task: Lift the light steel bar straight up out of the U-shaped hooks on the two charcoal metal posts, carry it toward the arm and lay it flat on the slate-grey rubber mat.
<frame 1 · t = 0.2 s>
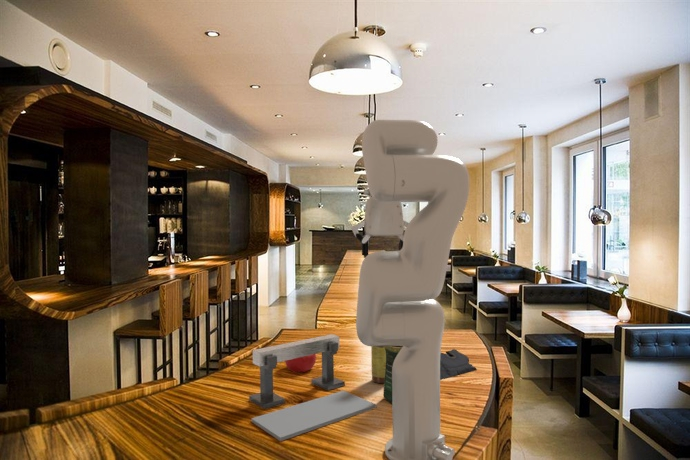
hand: (383, 257, 127), 37 cm above the table, tool pointing down, fingers open, 9 cm apart
hang bar: (298, 355, 129), point 10 cm above the table, touching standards
sauce bottle: (382, 381, 138), on the table
mat: (316, 414, 115), on the table
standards: (298, 392, 129), on the table
coffee jar: (402, 400, 124), on the table
dark grey notched piece: (439, 371, 148), on the table
pomegranate: (300, 369, 150), on the table
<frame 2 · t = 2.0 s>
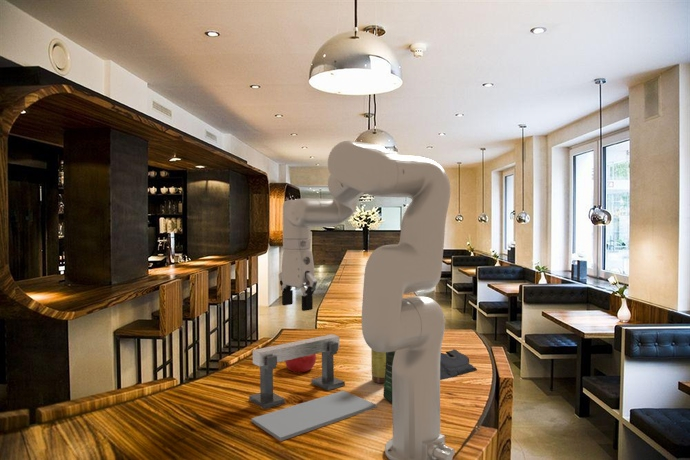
hand: (297, 307, 129), 23 cm above the table, tool pointing down, fingers open, 9 cm apart
nothing on the table moved.
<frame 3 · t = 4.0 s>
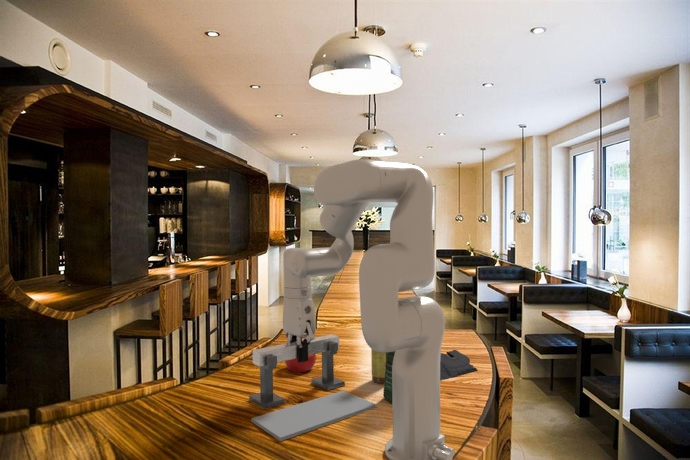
hand: (298, 359, 129), 9 cm above the table, tool pointing down, fingers closed on hang bar, 3 cm apart
hang bar: (298, 355, 129), point 10 cm above the table, touching gripper, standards
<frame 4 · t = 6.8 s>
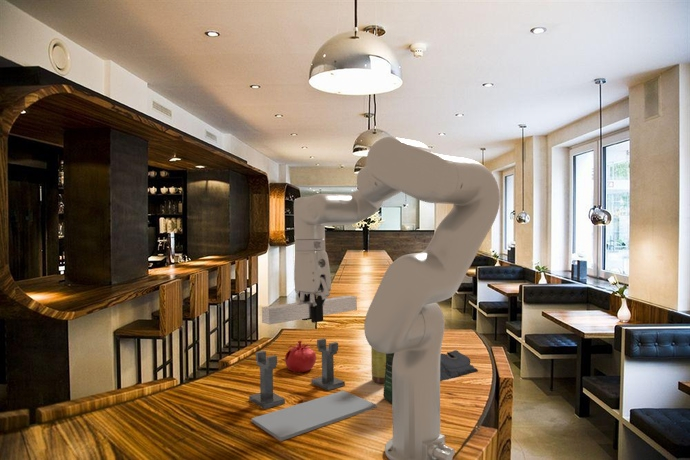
hand: (312, 319, 117), 23 cm above the table, tool pointing down, fingers closed on hang bar, 3 cm apart
hang bar: (312, 315, 117), point 24 cm above the table, touching gripper
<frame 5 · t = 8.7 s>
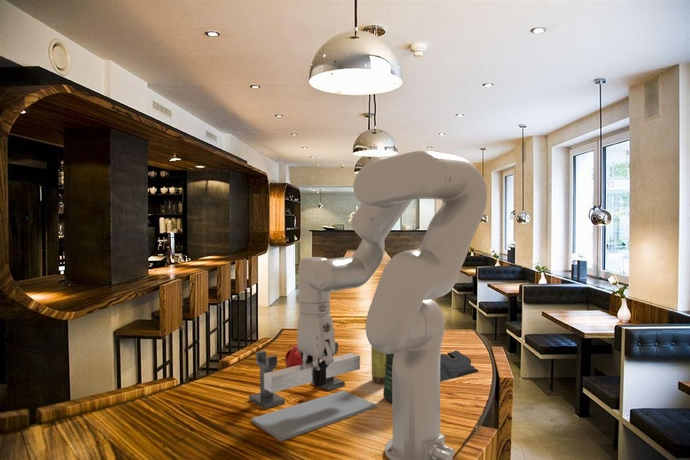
hand: (314, 382, 115), 8 cm above the table, tool pointing down, fingers closed on hang bar, 3 cm apart
hang bar: (314, 378, 115), point 9 cm above the table, touching gripper
when the fingers open (1 cm above the table, at t = 10.0 s): hang bar drops 2 cm, resting on mat.
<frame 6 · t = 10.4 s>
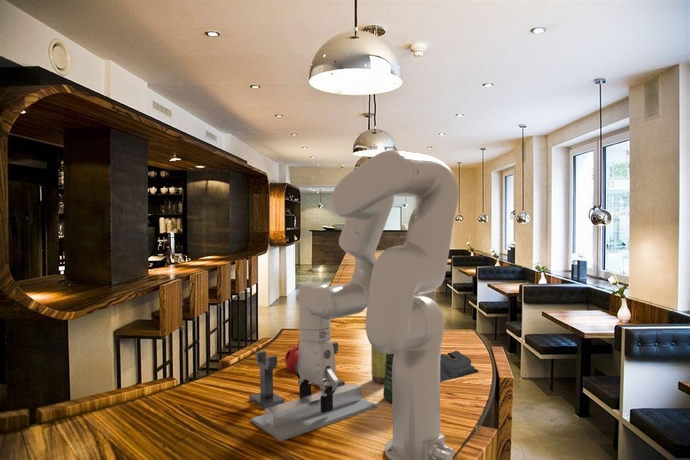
hand: (315, 405, 115), 2 cm above the table, tool pointing down, fingers open, 8 cm apart
hang bar: (316, 411, 115), point 1 cm above the table, touching mat
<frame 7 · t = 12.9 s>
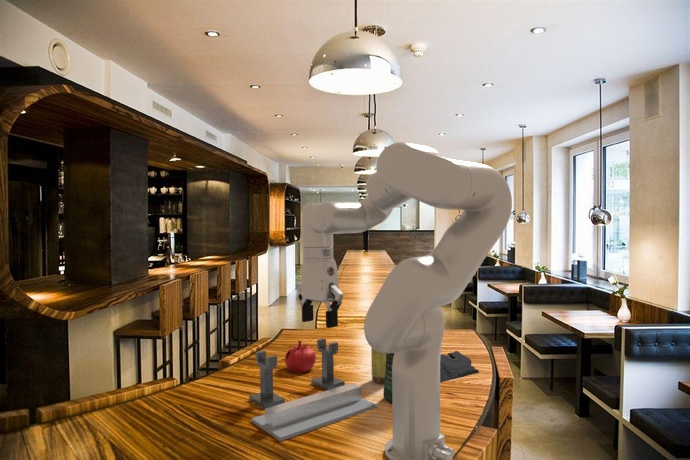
hand: (319, 324, 115), 22 cm above the table, tool pointing down, fingers open, 9 cm apart
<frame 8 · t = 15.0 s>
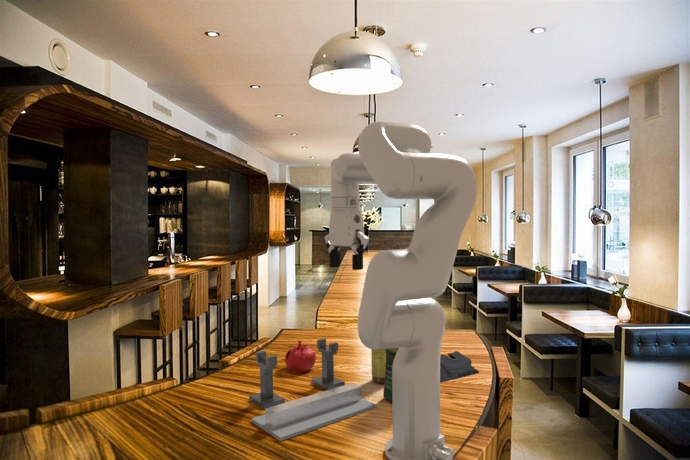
hand: (345, 268, 127), 34 cm above the table, tool pointing down, fingers open, 9 cm apart
at the end: hang bar inside the target area (0.0 cm from its centre), point 0.8 cm above the table; hang bar touching mat; the gripper is holding nothing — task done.
